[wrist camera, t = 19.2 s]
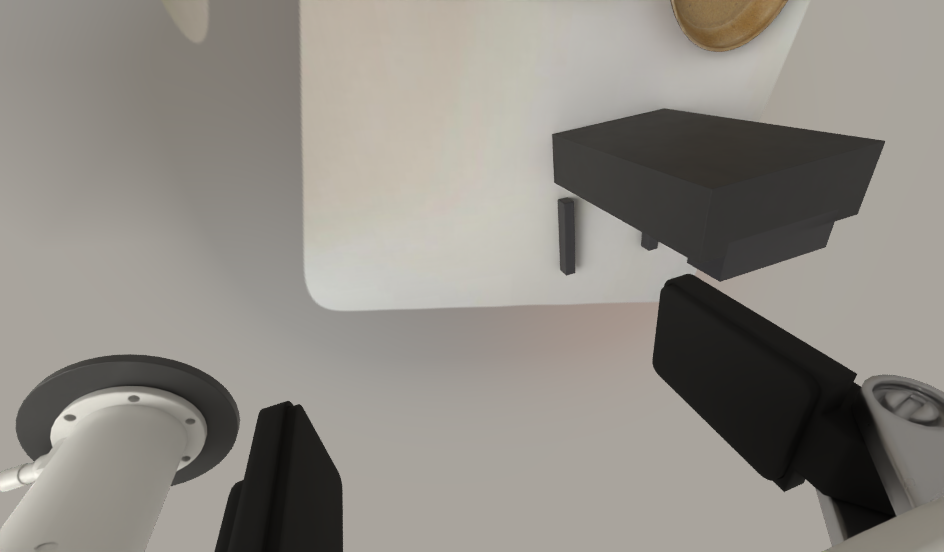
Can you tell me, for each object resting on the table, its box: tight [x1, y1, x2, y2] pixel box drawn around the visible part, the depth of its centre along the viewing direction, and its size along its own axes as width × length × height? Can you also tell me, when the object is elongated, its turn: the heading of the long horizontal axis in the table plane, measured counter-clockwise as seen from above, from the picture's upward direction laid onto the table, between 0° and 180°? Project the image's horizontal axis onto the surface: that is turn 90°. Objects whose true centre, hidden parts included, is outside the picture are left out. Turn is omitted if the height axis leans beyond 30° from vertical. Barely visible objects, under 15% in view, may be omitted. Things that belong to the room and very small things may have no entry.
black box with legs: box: [552, 109, 885, 282], centre depth 36 cm, size 13×16×20 cm
